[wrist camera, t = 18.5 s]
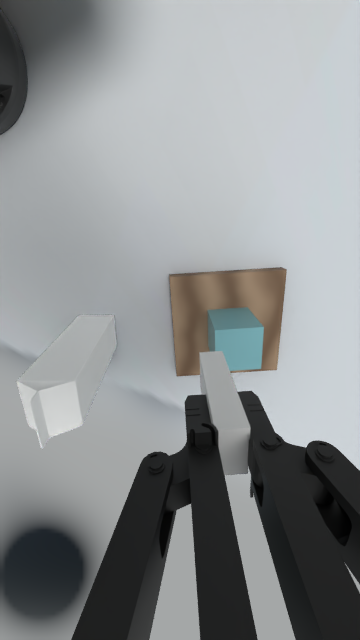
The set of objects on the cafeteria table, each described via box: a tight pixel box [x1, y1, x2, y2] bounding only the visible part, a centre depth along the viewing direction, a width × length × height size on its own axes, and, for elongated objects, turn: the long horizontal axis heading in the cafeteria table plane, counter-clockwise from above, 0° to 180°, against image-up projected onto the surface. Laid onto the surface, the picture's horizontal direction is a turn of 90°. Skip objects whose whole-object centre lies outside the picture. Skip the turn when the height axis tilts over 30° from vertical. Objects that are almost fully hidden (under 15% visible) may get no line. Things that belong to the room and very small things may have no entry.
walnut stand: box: [169, 267, 287, 376], centre depth 41 cm, size 18×18×8 cm
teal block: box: [207, 307, 264, 371], centre depth 39 cm, size 6×6×8 cm
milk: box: [17, 315, 117, 448], centre depth 34 cm, size 6×6×22 cm
